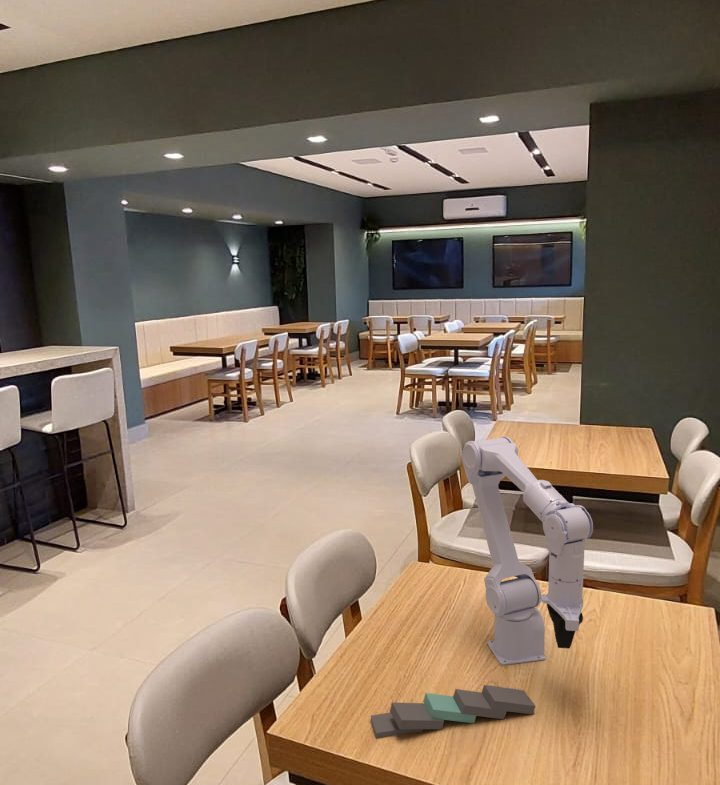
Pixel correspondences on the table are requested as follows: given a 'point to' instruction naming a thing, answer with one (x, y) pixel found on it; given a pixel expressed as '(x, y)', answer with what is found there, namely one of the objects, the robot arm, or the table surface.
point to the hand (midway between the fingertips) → (563, 646)
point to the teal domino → (445, 708)
